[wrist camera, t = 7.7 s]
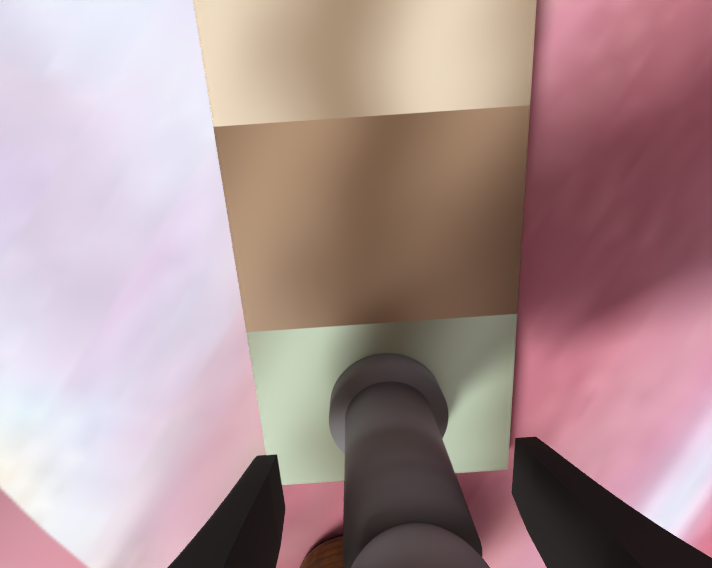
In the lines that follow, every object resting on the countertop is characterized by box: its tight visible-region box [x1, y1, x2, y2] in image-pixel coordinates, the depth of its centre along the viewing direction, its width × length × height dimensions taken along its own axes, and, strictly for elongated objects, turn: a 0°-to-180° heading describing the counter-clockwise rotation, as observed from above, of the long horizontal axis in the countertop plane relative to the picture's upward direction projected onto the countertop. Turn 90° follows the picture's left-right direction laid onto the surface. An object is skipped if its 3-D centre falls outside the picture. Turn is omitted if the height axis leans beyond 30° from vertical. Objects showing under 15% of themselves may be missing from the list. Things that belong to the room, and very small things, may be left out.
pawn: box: [329, 353, 490, 568], centre depth 9 cm, size 4×4×9 cm
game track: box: [193, 0, 537, 485], centre depth 12 cm, size 10×21×1 cm, turn 4°
